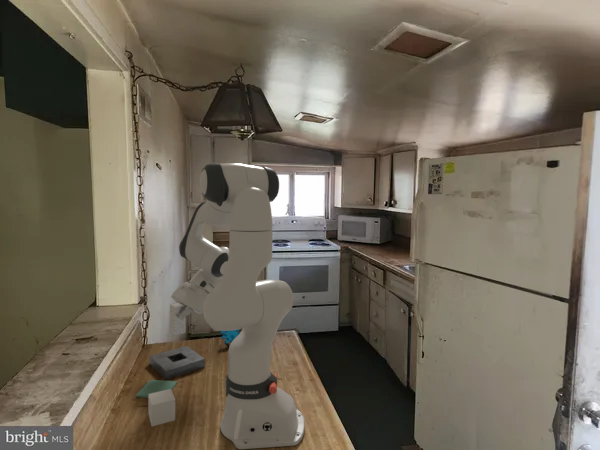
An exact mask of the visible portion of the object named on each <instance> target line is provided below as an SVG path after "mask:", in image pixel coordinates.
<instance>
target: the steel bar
mask: <svg viewBox="0 0 600 450" xmlns="http://www.w3.org/2000/svg"><path fill="white" fill-rule="evenodd" d="M185 308H186V305H184V304H182V303H176V302H175V303H172V304H171V303H170V304H169V333H170V334H172V335H173V336H178V335H182V334H186V329H187V328H186V322H187V321H186V320H187V319H186V318H187V316H185V318H184V319H183V320H181V319H179V318H178V317H177V316H178V315H179V314H180V313H182V312H183V311H184V310H186V309H185Z"/></svg>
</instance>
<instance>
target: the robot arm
mask: <svg viewBox="0 0 600 450" xmlns="http://www.w3.org/2000/svg"><path fill="white" fill-rule="evenodd" d="M199 188H200V191H201V194H202V196H203V197H204V199H206V201H202V202H201V203H200V204H199V205H198V206H197V207H196V208H195V210H194V212H193V214H192V216H191V219H190V221H189V224H188V226H187V228H186V231H185V234H184V236H183V237H182V239H181V241H180V243H179V245H178V250H179V255H180V257H182V258H183V259H185V260H187V261H189V262H191V263H193V264H194V265H195V266H197V267H198V268H200V269H198V270H197V271H196V273H195V274H194V275H193V276H192V278H191V279H190V280H188V281H185V282H183V283H182V284H180V285H179V286H178V287H177V288H176V289H175V290H174V291H173V292H172V294H171V296H170V297H171V299H172V300H174V301H175V303H182V304H184V305H186V308H185V309H186V310H184V311H183V312H182V313H180V314H179V315H178V316H177V317H178V318H179V319H181V320H183V319H184V318H185V316H186V317H187V316H189V315H191V314H192V312H195V313H197V314H198V315H203V317H204V320H205V322H206V324H207V325H208V326H209V327H210V328H211V329H212V330H213V331H216V332H219V331H220V332H221V331H231V330H237V329H239V330H241V329H242V330H241V331H240V332H239V333H240V334H239V335H238V336H237V337H236V338H235V339H234V340H233V341H232V343H231V342H230V343H231V345H230V346H229V348H228V359H227V362H228V365H227V374H226V376H225V385H224V386H225V397H226V398H225V406H224V411H223V416H222V419H221V421H220V428H219V429H220V432H221V434H222V435H223V436H224V437H225V438H227V439H228V440H230V441H231V442H232V443H233V445H234V447H235V448H236V449H239V450H247V449H248V450H249V449H250V450H251V449H263V448H264V449H265V448H276V447H277V448H278V447H291V446H297V445H298V444H299V443H300V442H301V441H302V439H303V438H304V434H305V425H306V424H305V417H304V415H303V413H302V412H301V411H300V410H299V409H298V408H297V406H296V403H295V400H294V398H293V397H292V396H291V394H289V393H287V391H284V390H283V389H282V388H280V387H279V386H278V378H277V377H278V376H277V372H274V374H273V373H272V372H271V355H272V348H273V344H274V343H273V342H274V339H275V337H276V334H277V331H278V330H279V327H280V326H281V324H282V322H283V319H285V317H286V316H287V315H288V313H289V312H291V310H292V308H293V306H294V293H293V290H292V288H291V285H289V284H288V283H287V282H286V281H283V280H279V279H262V280H258V278H259V276H260V274H261V272H262V271H263V270H264V269H265V268H266V267H267V266H268V265H269V264H270V263H271V261H272V259H273V216H272V215H273V214H272V207H271V206H272V205H271V202H273V201H275V199H276V198H277V197H278V194H279V191H280V179H279V176H278V174H277V172H276V171H275V170H274V169H273V168H270V167H267V166H257V165H252V164H244V163H236V162H235V163H234V162H231V163H230V162H229V163H219V162H213V163H208V164H206V165H205V166H204V167H203V168H202V170H201V173H200V177H199ZM206 225H210V226H213V227H222V228H223V227H227V226H229V245H228V246H229V247H226V246H220V247H219V246H218V245H216V244H215V243H213V242H211V240H208V239H207V238H206V237H205V236H204V235H203V232H204V231H203V230H204V229H205V226H206Z"/></svg>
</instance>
